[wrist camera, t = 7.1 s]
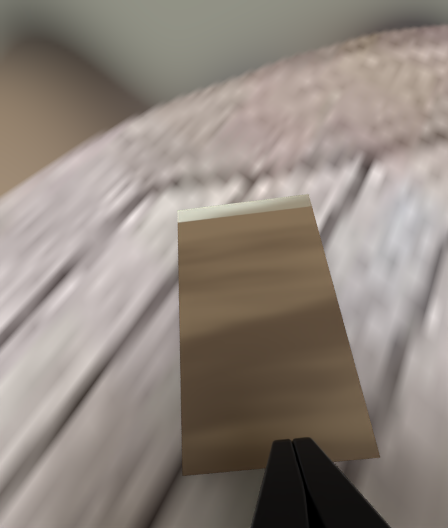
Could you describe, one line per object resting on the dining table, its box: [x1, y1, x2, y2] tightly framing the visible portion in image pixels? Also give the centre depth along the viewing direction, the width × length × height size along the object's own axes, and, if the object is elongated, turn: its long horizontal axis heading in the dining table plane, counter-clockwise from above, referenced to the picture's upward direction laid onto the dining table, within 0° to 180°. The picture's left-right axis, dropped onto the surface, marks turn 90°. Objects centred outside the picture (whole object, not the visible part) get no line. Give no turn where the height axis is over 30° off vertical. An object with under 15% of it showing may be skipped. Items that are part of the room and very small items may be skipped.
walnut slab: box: [177, 194, 380, 476], centre depth 16 cm, size 4×7×12 cm
